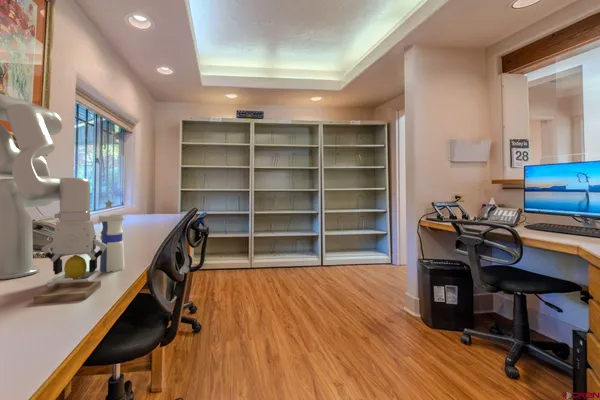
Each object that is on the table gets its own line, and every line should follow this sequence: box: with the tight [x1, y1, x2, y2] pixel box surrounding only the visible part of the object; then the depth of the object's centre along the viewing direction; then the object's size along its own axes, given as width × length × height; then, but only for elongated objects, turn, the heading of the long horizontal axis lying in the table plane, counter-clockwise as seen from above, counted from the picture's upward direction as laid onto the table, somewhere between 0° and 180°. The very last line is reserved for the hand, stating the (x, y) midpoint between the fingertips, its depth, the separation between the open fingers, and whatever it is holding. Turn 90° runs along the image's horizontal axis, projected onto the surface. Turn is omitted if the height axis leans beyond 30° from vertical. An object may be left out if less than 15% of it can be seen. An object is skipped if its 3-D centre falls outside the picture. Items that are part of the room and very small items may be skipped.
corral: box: [46, 269, 101, 288], centre depth 92 cm, size 10×10×1 cm
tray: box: [33, 279, 102, 305], centre depth 79 cm, size 11×11×2 cm
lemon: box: [63, 254, 88, 280], centre depth 92 cm, size 6×6×8 cm
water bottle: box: [97, 199, 126, 273], centre depth 104 cm, size 8×9×25 cm
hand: (75, 272), depth 92 cm, fingers open, 8 cm apart
